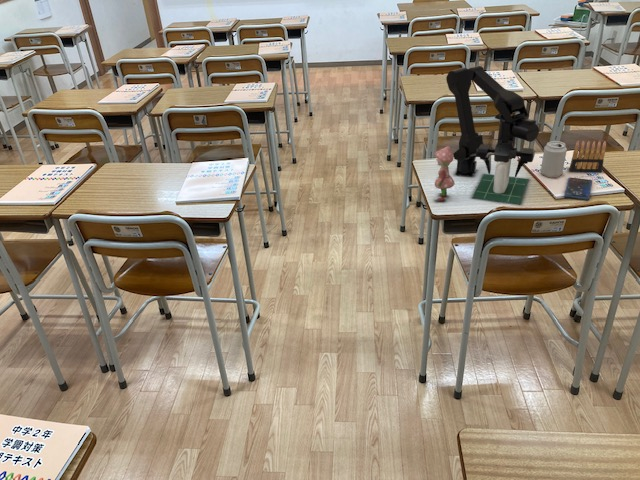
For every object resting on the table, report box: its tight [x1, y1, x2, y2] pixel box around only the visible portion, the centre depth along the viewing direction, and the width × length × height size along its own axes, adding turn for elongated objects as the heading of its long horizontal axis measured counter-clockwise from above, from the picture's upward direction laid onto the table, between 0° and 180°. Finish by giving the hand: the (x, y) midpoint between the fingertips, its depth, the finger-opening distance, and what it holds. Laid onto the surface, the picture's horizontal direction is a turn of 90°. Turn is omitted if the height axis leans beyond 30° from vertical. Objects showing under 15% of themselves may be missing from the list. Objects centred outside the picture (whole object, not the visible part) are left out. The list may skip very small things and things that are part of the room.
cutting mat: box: [471, 173, 529, 205], centre depth 175 cm, size 16×20×1 cm
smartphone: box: [564, 177, 593, 201], centre depth 169 cm, size 8×1×15 cm
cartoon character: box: [434, 145, 455, 202], centre depth 168 cm, size 10×7×20 cm
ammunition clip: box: [568, 140, 607, 173], centre depth 177 cm, size 11×2×12 cm, turn 75°
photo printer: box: [493, 159, 512, 194], centre depth 172 cm, size 10×4×12 cm, turn 152°
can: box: [540, 140, 568, 178], centre depth 178 cm, size 8×8×12 cm
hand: (502, 175), depth 172 cm, fingers open, 9 cm apart
